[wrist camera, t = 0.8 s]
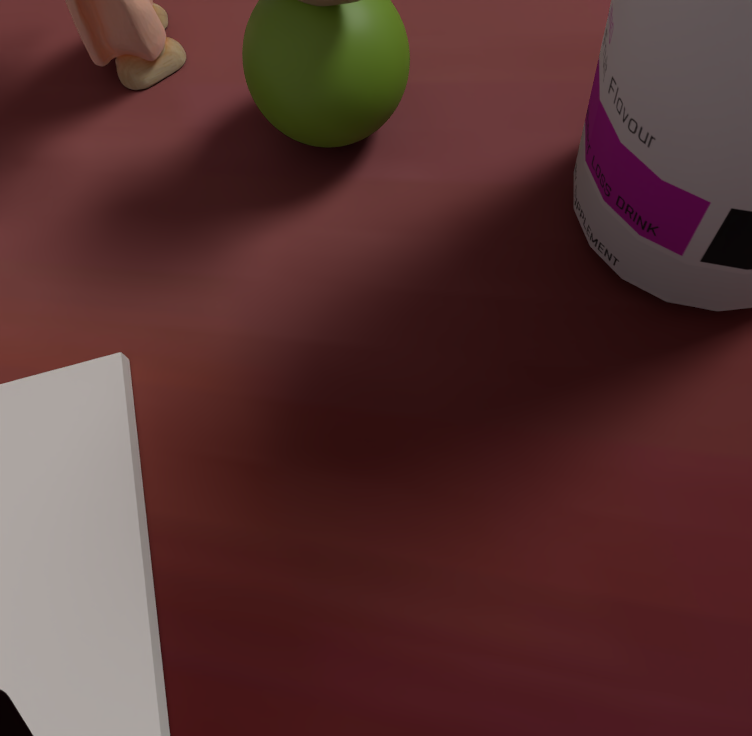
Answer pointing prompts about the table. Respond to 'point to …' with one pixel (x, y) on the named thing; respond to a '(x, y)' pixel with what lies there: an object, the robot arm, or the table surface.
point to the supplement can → (672, 151)
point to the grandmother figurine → (128, 39)
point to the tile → (77, 557)
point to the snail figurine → (326, 67)
